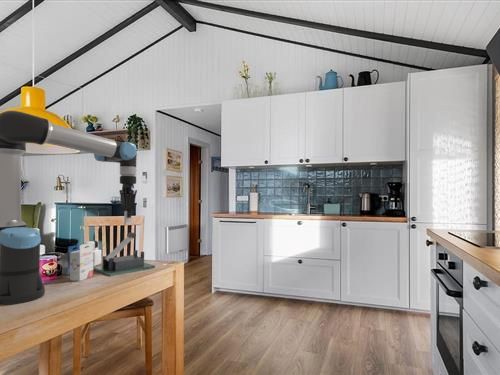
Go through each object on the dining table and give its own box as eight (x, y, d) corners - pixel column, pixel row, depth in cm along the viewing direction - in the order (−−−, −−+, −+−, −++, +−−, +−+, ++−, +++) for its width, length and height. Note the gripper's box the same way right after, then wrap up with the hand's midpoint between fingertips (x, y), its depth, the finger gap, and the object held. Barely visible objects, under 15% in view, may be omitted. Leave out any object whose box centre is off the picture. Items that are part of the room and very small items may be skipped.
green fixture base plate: (110, 276, 142) (110, 258, 142) (92, 269, 154) (93, 253, 154) (155, 268, 158) (155, 252, 158) (136, 262, 170) (136, 248, 170)
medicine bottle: (87, 263, 168) (88, 240, 169) (101, 263, 168) (101, 240, 169) (80, 266, 161) (80, 241, 162) (94, 266, 161) (94, 242, 161)
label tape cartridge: (73, 270, 153) (74, 243, 153) (81, 270, 153) (81, 243, 153) (59, 274, 144) (60, 246, 145) (67, 274, 144) (68, 246, 144)
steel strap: (110, 262, 149) (107, 259, 148) (105, 260, 152) (102, 257, 151) (136, 236, 158) (134, 232, 158) (132, 235, 161) (129, 232, 160)
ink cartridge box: (83, 275, 142) (84, 241, 143) (93, 276, 141) (94, 242, 142) (68, 280, 134) (69, 244, 134) (79, 281, 133) (80, 245, 133)
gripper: (142, 175, 156) (141, 224, 156) (128, 176, 165) (128, 223, 165) (127, 174, 151) (127, 225, 150) (114, 175, 160) (113, 224, 159)
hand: (127, 224), depth 158 cm, fingers closed
